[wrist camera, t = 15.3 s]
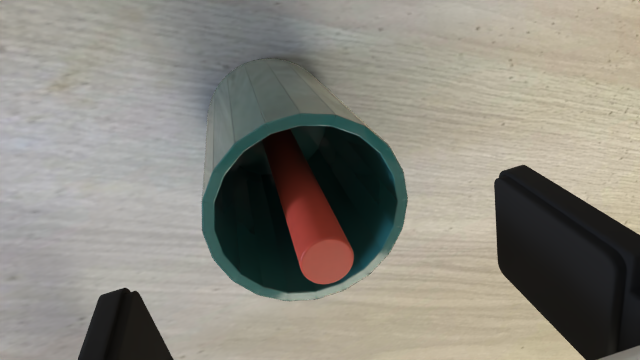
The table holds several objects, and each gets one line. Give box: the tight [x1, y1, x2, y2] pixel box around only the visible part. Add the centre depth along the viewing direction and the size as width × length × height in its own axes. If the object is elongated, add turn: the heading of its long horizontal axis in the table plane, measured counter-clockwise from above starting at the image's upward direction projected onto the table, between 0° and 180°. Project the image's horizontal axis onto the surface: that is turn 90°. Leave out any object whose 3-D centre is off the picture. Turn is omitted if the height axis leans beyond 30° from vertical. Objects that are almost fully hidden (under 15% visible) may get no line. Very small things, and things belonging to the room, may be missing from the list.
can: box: [202, 58, 408, 301], centre depth 21 cm, size 7×7×12 cm
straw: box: [262, 129, 354, 284], centre depth 19 cm, size 2×2×14 cm
